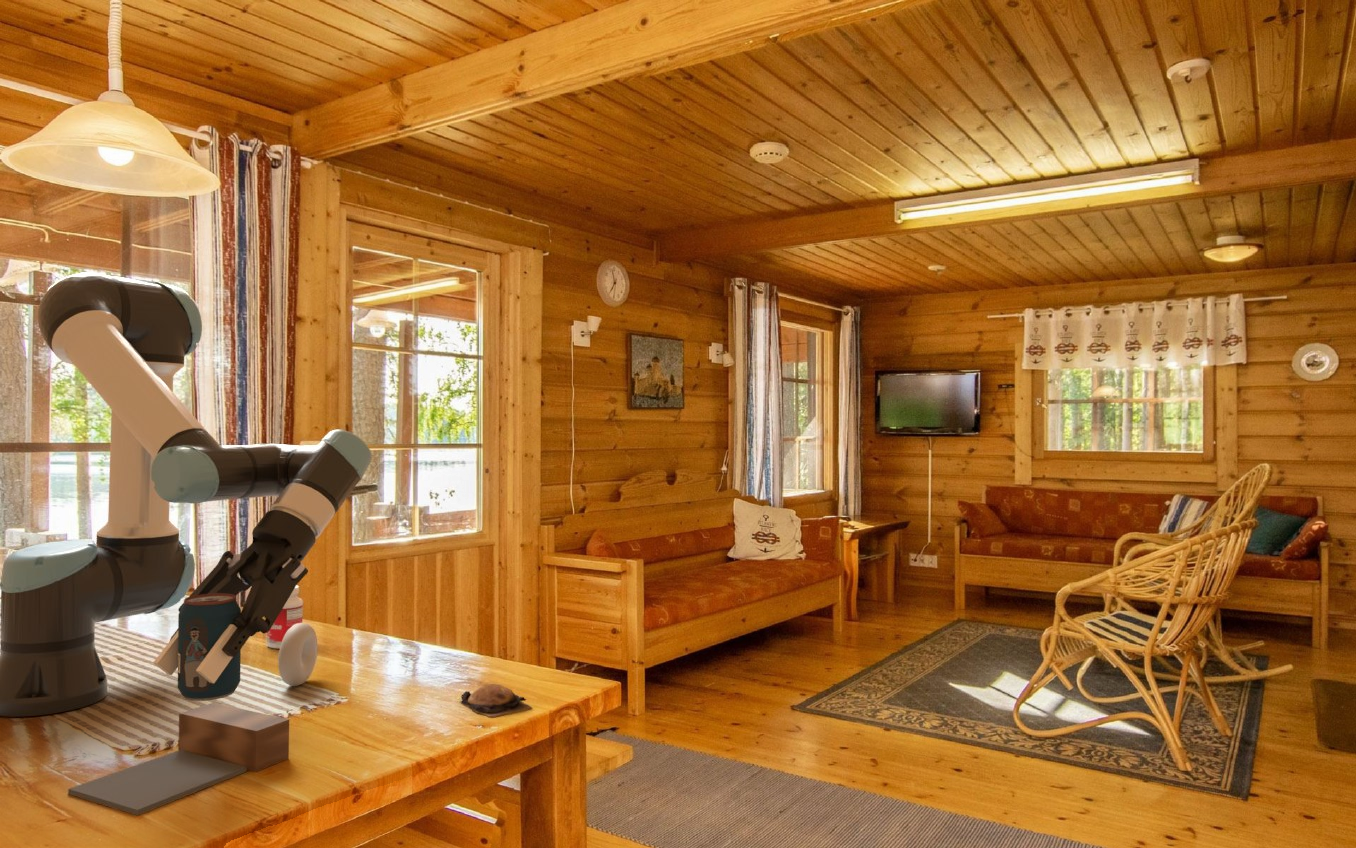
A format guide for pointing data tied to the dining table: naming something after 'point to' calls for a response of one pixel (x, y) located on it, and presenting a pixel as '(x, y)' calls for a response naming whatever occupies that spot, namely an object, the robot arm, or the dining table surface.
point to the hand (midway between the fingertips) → (183, 672)
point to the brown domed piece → (494, 701)
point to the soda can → (205, 645)
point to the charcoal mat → (157, 781)
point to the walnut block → (234, 735)
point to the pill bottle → (286, 619)
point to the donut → (297, 654)
